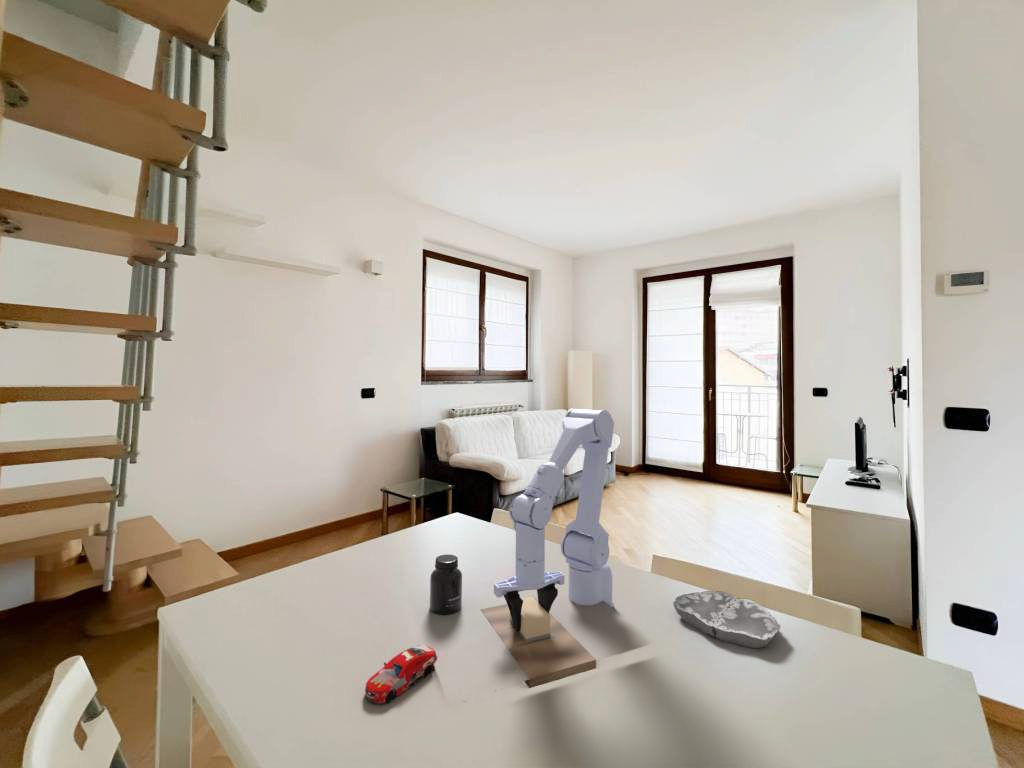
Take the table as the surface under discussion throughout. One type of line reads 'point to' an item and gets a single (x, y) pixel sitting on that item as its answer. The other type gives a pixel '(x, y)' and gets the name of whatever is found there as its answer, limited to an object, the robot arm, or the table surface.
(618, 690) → the table surface
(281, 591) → the table surface
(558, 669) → the board
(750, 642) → the brain slice
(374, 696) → the race car
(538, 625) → the block
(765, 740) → the table surface
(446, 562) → the supplement bottle
